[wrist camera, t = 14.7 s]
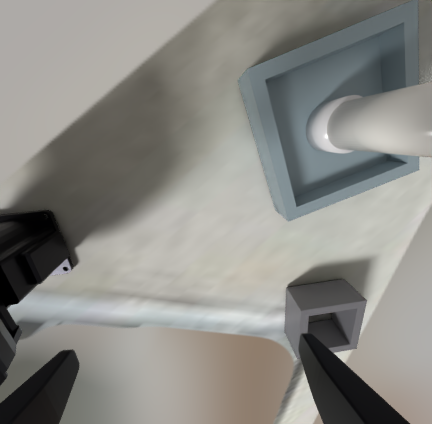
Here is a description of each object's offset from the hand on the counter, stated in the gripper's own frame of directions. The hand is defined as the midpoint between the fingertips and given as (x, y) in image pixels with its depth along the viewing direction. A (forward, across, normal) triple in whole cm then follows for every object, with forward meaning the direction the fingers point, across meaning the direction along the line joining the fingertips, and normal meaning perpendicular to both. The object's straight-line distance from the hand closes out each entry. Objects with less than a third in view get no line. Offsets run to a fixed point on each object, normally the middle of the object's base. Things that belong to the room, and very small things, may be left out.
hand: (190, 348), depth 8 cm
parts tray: (+14, -12, -8) cm, 20 cm away
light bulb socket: (+14, -14, +13) cm, 23 cm away
